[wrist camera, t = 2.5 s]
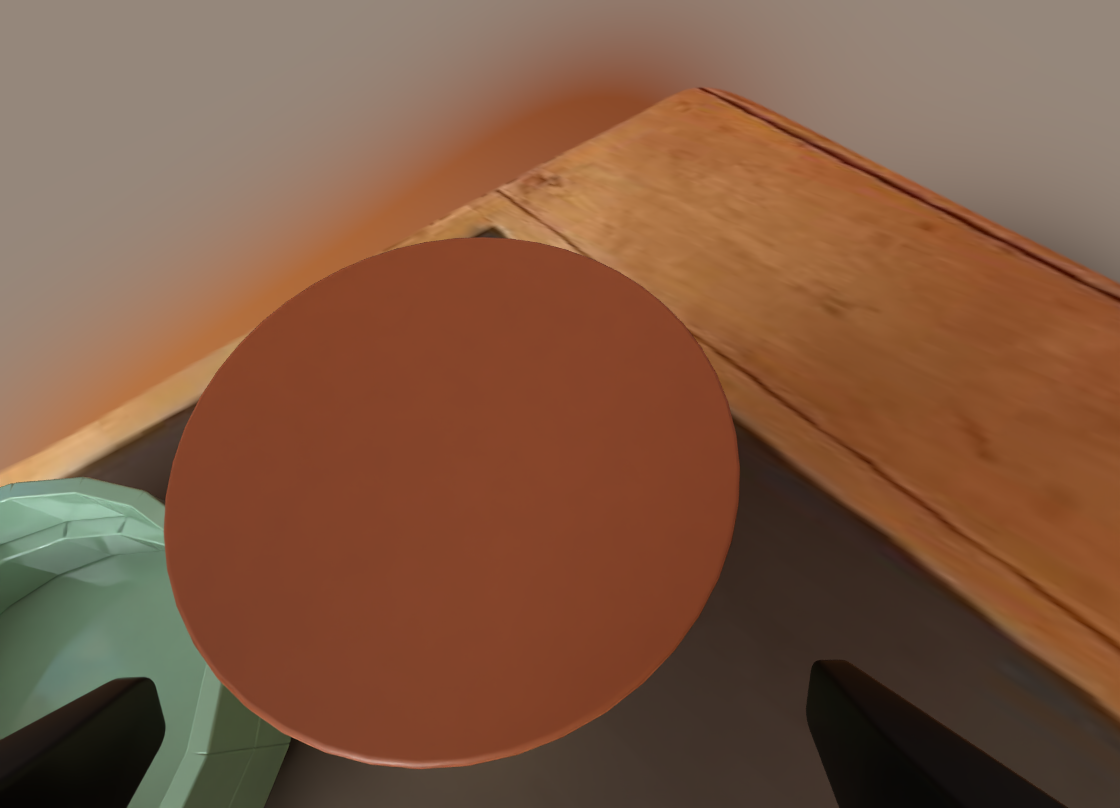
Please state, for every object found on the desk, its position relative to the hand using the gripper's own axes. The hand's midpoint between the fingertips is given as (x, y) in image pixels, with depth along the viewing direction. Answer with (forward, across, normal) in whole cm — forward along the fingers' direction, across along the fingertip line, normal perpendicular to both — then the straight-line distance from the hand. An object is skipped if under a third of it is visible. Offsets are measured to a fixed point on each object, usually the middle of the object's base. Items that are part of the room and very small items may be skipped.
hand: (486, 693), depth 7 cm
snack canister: (+8, 0, +5) cm, 10 cm away
